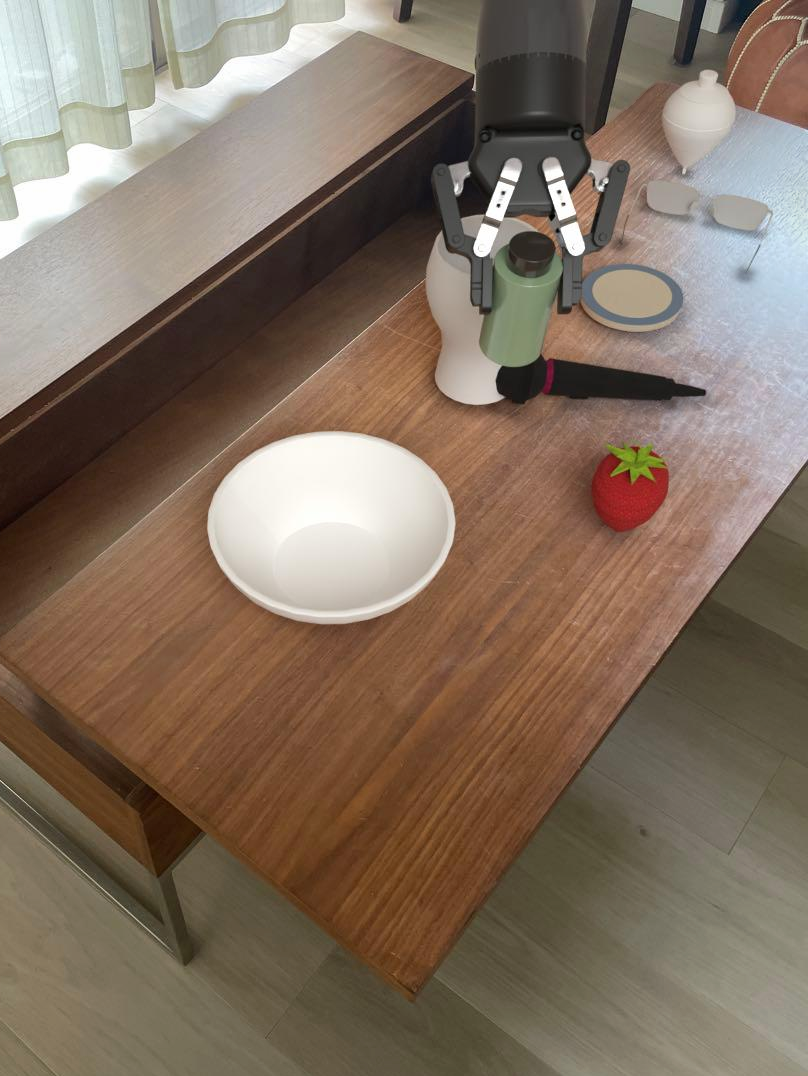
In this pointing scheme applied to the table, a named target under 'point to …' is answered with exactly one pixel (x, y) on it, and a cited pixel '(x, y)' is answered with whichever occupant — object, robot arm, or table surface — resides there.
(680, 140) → the spinning top
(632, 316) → the saucer
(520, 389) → the microphone
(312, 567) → the bowl
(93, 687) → the table surface
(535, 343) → the pepper shaker
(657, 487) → the strawberry
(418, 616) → the table surface
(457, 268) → the cup
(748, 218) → the eyeglasses
